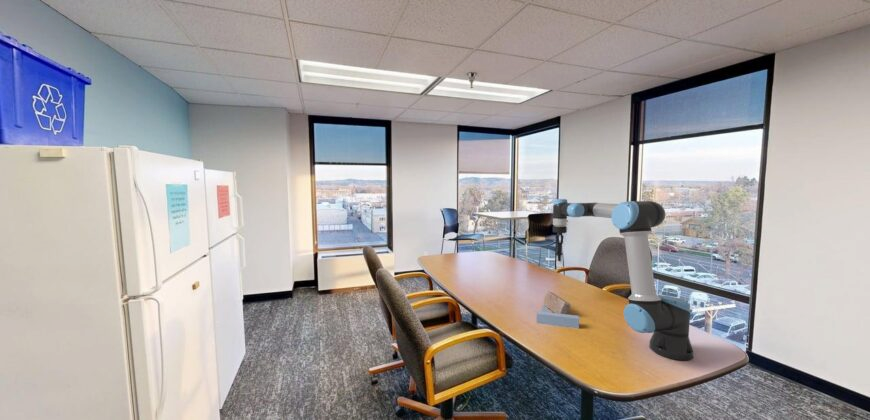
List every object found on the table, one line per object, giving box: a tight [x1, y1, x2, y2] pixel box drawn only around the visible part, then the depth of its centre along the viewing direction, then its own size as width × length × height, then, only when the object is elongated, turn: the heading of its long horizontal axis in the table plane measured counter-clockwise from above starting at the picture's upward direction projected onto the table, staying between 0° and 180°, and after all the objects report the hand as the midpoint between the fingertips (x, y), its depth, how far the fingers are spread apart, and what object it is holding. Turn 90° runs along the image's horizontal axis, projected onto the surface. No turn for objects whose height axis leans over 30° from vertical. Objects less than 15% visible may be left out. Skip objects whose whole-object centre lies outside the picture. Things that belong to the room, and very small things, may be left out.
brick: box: [542, 290, 571, 315], centre depth 181 cm, size 16×8×5 cm
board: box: [536, 305, 580, 329], centre depth 169 cm, size 12×20×5 cm, turn 71°
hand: (558, 266), depth 188 cm, fingers closed
